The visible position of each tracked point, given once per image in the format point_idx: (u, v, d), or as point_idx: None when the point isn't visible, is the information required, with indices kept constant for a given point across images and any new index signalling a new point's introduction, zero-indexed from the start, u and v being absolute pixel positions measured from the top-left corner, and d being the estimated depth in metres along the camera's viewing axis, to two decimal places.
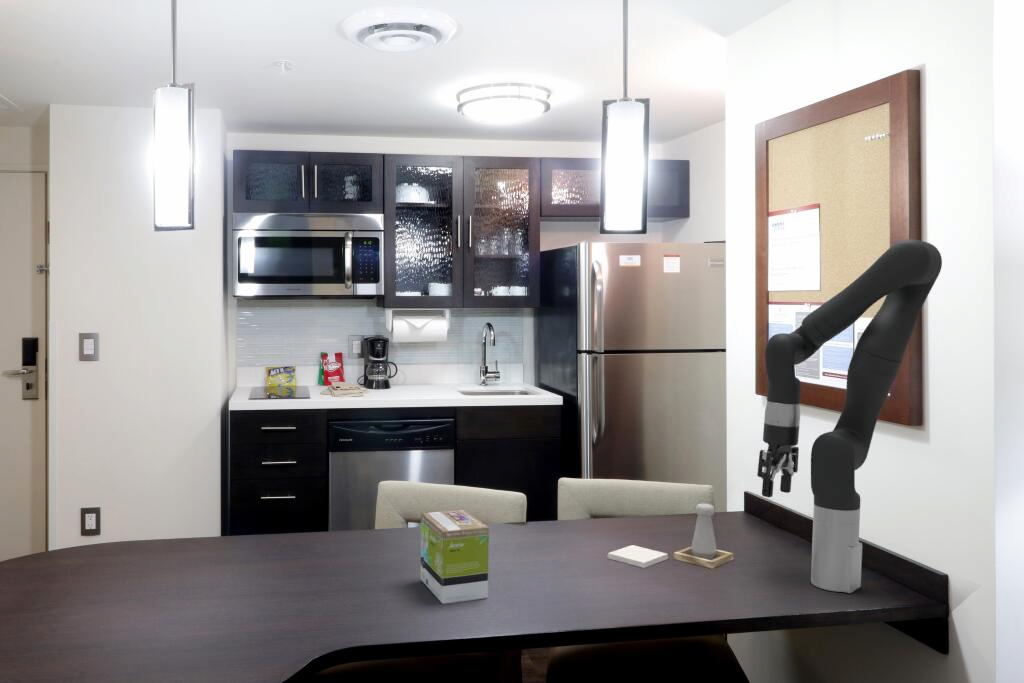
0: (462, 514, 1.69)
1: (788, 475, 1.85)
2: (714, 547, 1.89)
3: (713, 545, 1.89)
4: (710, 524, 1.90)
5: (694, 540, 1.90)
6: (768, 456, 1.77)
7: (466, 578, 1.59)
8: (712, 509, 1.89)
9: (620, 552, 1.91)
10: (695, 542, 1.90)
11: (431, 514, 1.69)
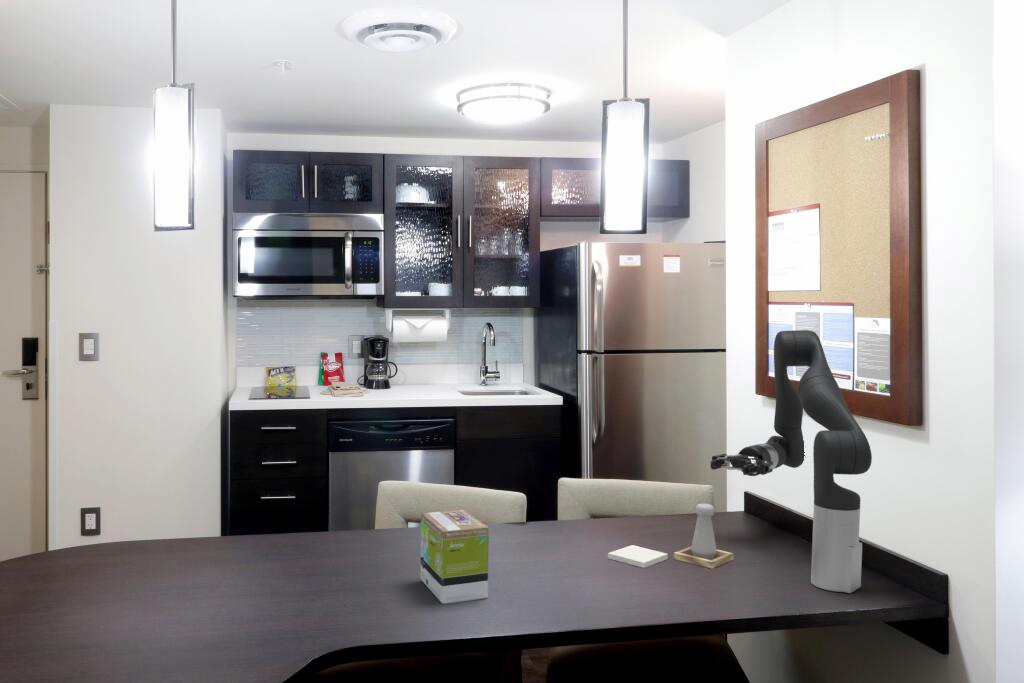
0: (462, 514, 1.69)
1: None
2: (714, 547, 1.89)
3: (713, 545, 1.89)
4: (710, 524, 1.90)
5: (694, 540, 1.90)
6: None
7: (466, 578, 1.59)
8: (712, 509, 1.89)
9: (620, 552, 1.91)
10: (695, 542, 1.90)
11: (431, 514, 1.69)
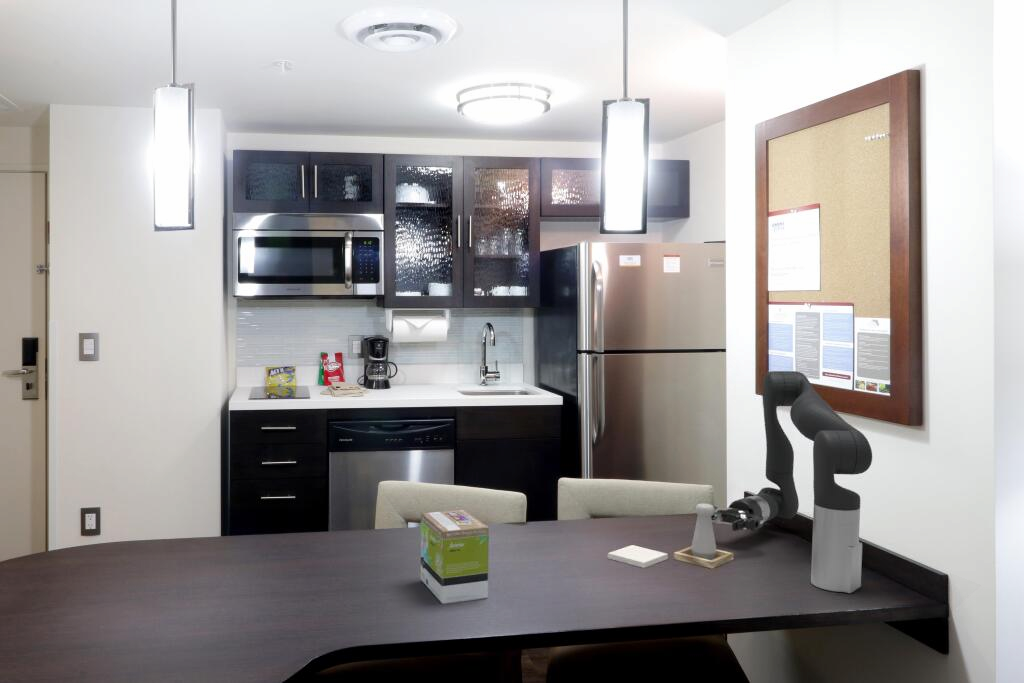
0: (462, 514, 1.69)
1: None
2: (714, 547, 1.89)
3: (713, 545, 1.89)
4: (710, 524, 1.90)
5: (694, 540, 1.90)
6: None
7: (466, 578, 1.59)
8: (712, 509, 1.89)
9: (620, 552, 1.91)
10: (695, 542, 1.90)
11: (431, 514, 1.69)
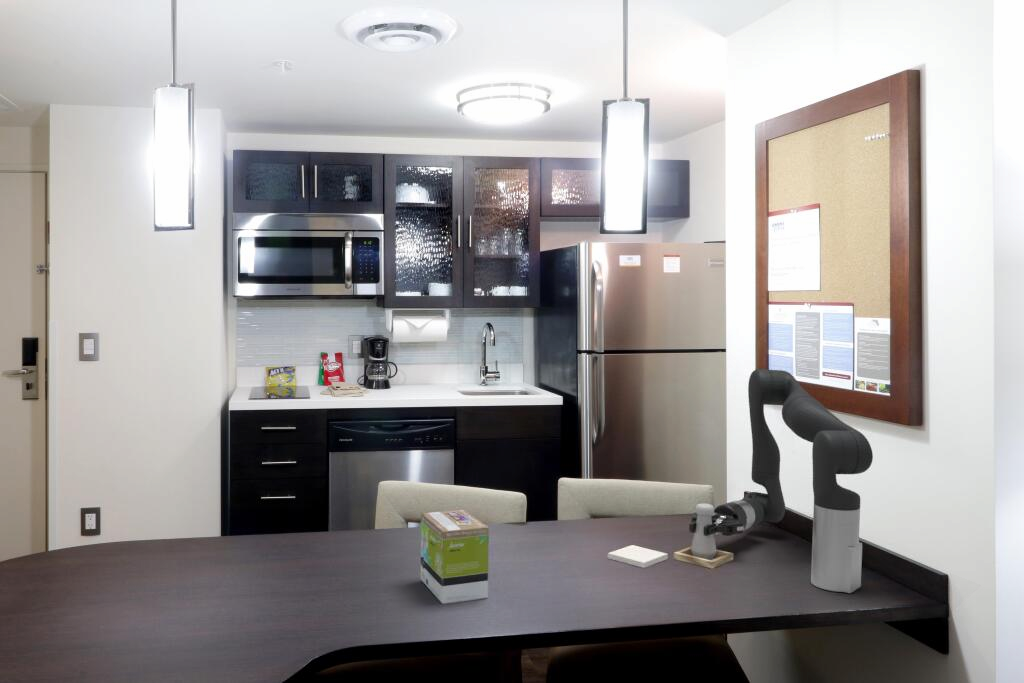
0: (462, 514, 1.69)
1: None
2: (714, 547, 1.89)
3: (713, 545, 1.89)
4: (710, 524, 1.90)
5: (694, 540, 1.90)
6: (693, 514, 1.99)
7: (466, 578, 1.59)
8: (712, 509, 1.89)
9: (620, 552, 1.91)
10: (695, 542, 1.90)
11: (431, 514, 1.69)
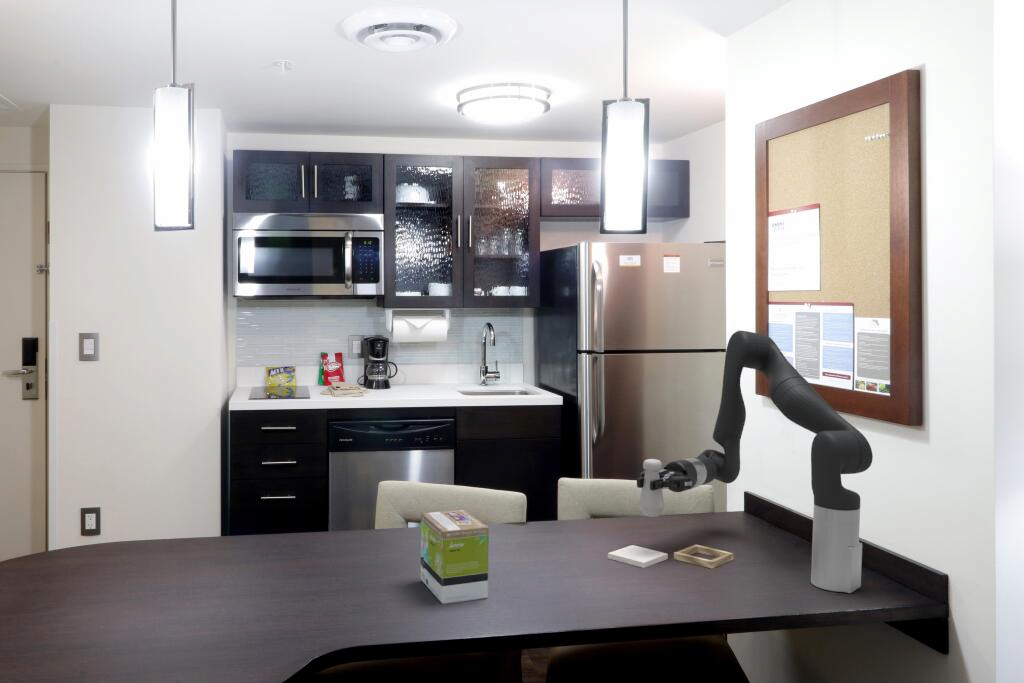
0: (462, 514, 1.69)
1: None
2: (661, 502, 1.89)
3: (660, 500, 1.89)
4: (657, 479, 1.89)
5: (642, 495, 1.90)
6: None
7: (466, 578, 1.59)
8: (659, 464, 1.89)
9: (620, 552, 1.91)
10: (642, 497, 1.90)
11: (431, 514, 1.69)
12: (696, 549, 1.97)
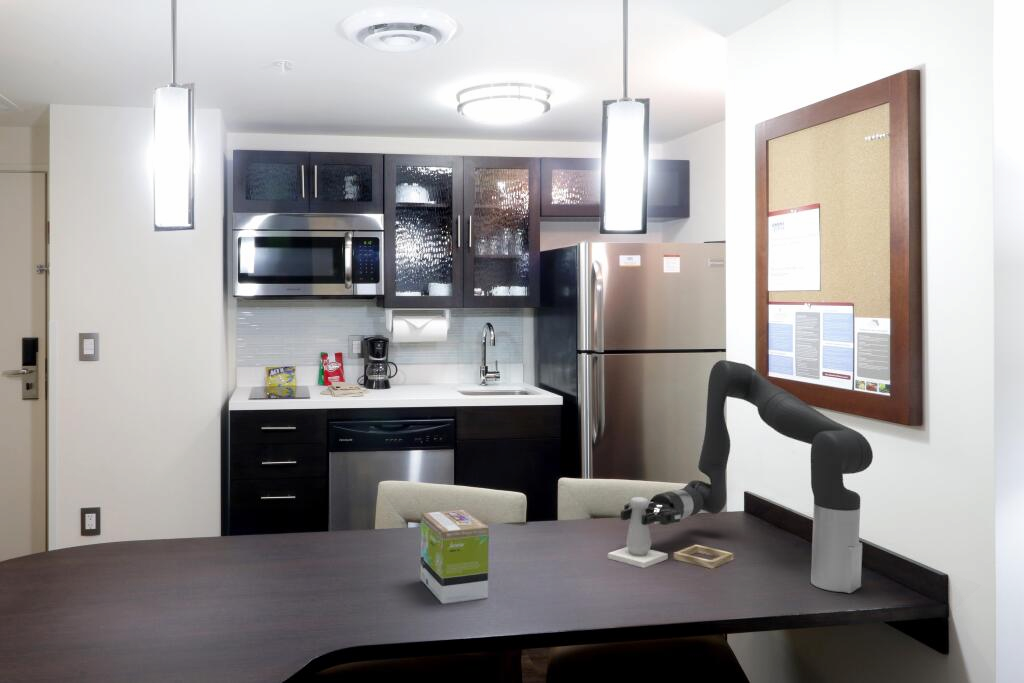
0: (462, 514, 1.69)
1: None
2: (648, 541, 1.89)
3: (647, 538, 1.89)
4: None
5: (629, 534, 1.90)
6: None
7: (466, 578, 1.59)
8: (646, 502, 1.89)
9: (620, 552, 1.91)
10: (629, 535, 1.90)
11: (431, 514, 1.69)
12: (696, 549, 1.97)
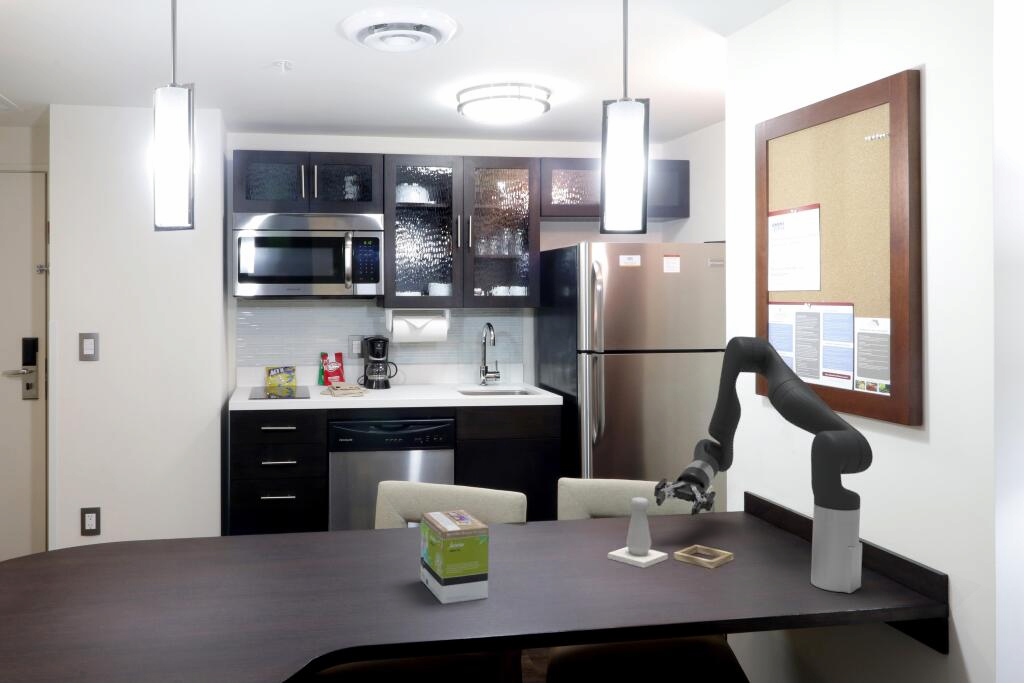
0: (462, 514, 1.69)
1: None
2: (648, 541, 1.89)
3: (647, 539, 1.89)
4: (644, 518, 1.89)
5: (629, 534, 1.90)
6: None
7: (466, 578, 1.59)
8: (646, 503, 1.89)
9: (620, 552, 1.91)
10: (629, 536, 1.89)
11: (431, 514, 1.69)
12: (696, 549, 1.97)
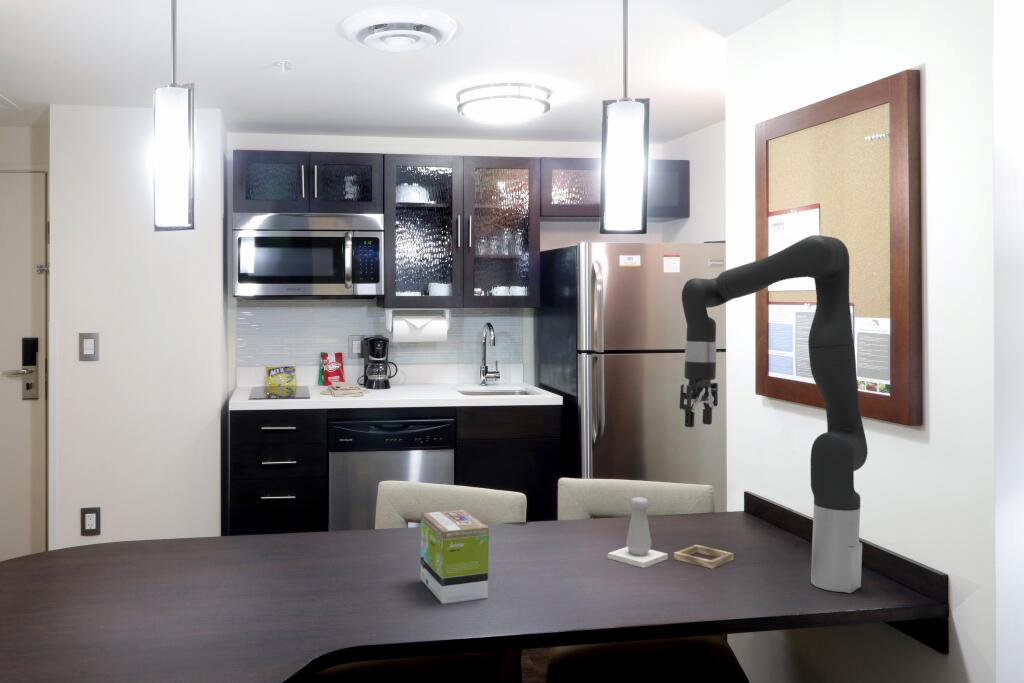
0: (462, 514, 1.69)
1: (709, 409, 2.03)
2: (648, 541, 1.89)
3: (647, 539, 1.89)
4: (644, 518, 1.89)
5: (629, 534, 1.90)
6: (688, 389, 1.95)
7: (466, 578, 1.59)
8: (646, 503, 1.89)
9: (620, 552, 1.91)
10: (629, 536, 1.89)
11: (431, 514, 1.69)
12: (696, 549, 1.97)
